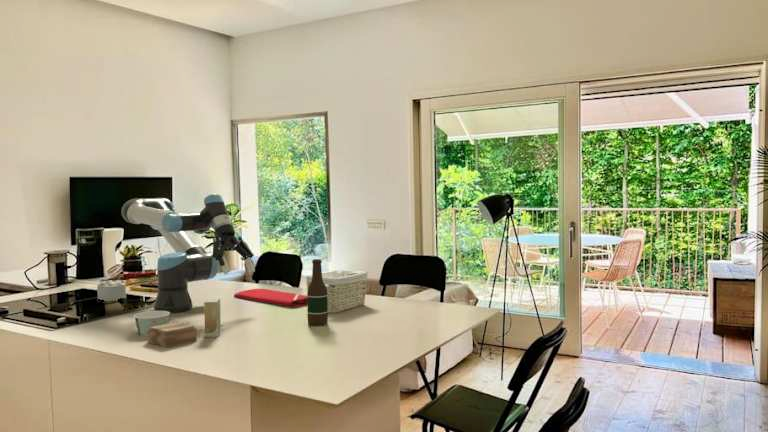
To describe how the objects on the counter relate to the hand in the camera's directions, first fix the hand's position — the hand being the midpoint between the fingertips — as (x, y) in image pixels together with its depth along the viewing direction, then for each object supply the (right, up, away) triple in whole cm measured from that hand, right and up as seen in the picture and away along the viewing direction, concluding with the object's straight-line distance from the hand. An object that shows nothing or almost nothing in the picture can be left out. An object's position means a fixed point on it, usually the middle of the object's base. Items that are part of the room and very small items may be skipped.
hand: (240, 272), depth 234 cm
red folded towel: (+9, -16, +29) cm, 34 cm away
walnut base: (-12, -19, -42) cm, 48 cm away
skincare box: (-1, -18, -34) cm, 39 cm away
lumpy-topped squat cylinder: (-68, -16, +33) cm, 77 cm away
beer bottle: (+34, -17, -19) cm, 42 cm away
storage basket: (+39, -16, +11) cm, 43 cm away
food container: (-24, -18, -29) cm, 42 cm away
